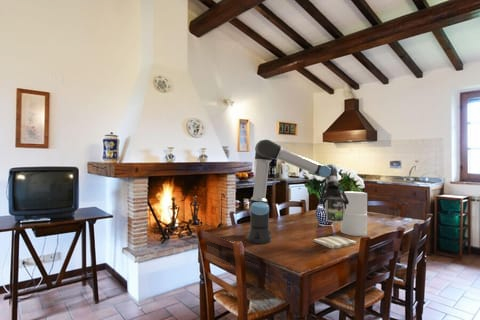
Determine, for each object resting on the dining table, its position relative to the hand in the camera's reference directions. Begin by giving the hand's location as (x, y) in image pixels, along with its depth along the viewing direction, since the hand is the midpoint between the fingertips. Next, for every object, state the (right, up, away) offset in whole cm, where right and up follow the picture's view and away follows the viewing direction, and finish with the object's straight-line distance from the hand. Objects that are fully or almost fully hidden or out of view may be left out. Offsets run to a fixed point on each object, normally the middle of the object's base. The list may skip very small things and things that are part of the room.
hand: (335, 212), depth 179 cm
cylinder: (+23, -19, +28) cm, 41 cm away
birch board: (+1, -19, +3) cm, 20 cm away
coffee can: (+1, -6, +3) cm, 6 cm away
